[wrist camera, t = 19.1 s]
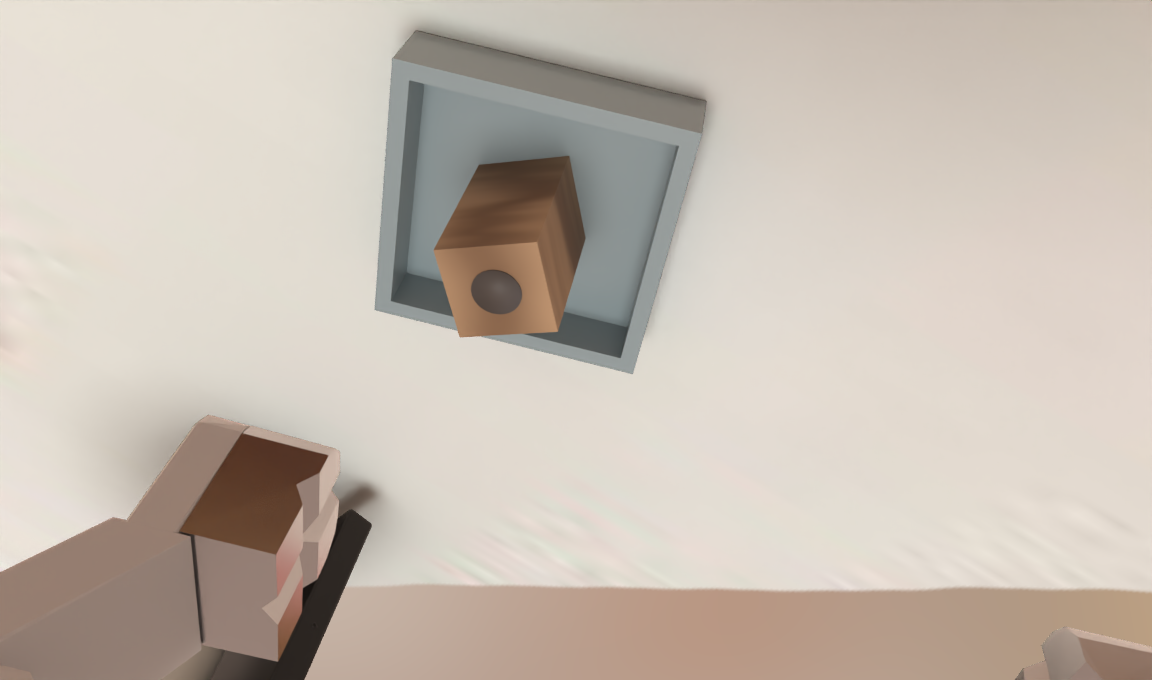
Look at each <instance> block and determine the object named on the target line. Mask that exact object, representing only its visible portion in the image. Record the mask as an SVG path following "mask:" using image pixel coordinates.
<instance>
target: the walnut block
mask: <svg viewBox="0 0 1152 680" xmlns="http://www.w3.org/2000/svg"><path fill="white" fill-rule="evenodd" d="M585 239H586V237H585V232H584V227H583V222H582V217H581V212H580V207H579V202H578V197H577V192H576V187H575V182H574V177H573V172H572V167H571V162H570V157H569V156H562V157H552V158H542V159H532V160H522V161H512V162H502V163H492V164H482V165H478V167H477V169H476V171H475V173H474V175H473V177H472V179H471V180H470V182H469V184H468V186H467V188H466V190H465V192H464V194H463V195H462V197H461V199H460V201H459V203H458V205H457V207H456V209H455V211H454V212H453V214H452V216H451V218H450V220H449V222H448V224H447V226H446V227H445V229H444V231H443V233H442V235H441V237H440V239H439V241H438V242H437V244H436V246H435V248H434V250H433V251H434V254H435V257H436V261H437V264H438V267H439V270H440V274H441V277H442V280H443V284H444V287H445V290H446V294H447V297H448V300H449V303H450V307H451V310H452V313H453V317H454V320H455V323H456V326H457V330H458V333H459V336H460V337H474V336H492V335H510V334H528V333H545V332H558V330H559V326H560V323H561V320H562V316H563V313H564V309H565V306H566V303H567V299H568V296H569V293H570V289H571V286H572V283H573V279H574V276H575V273H576V269H577V266H578V263H579V259H580V256H581V252H582V249H583V246H584V242H585Z"/></svg>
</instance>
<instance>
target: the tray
mask: <svg viewBox="0 0 1152 680" xmlns="http://www.w3.org/2000/svg"><path fill="white" fill-rule="evenodd" d="M705 108H706V101H703V100H699V99H695V98H691V97H687V96H683V95H679V94H674V93H670V92H666V91H662V90H658V89H654V88H650V87H646V86H642V85H637V84H633V83H629V82H625V81H621V80H617V79H613V78H609V77H605V76H600V75H596V74H592V73H588V72H584V71H580V70H576V69H572V68H568V67H564V66H559V65H555V64H551V63H547V62H543V61H539V60H535V59H531V58H527V57H522V56H518V55H514V54H510V53H506V52H502V51H498V50H494V49H490V48H485V47H481V46H477V45H473V44H469V43H465V42H461V41H457V40H453V39H448V38H444V37H440V36H436V35H432V34H428V33H424V32H420V31H415V32H414V34H413V35H412V36H411V37H410V38H409V39H408V41H407V42H406V43H405V44H404V45H403V47H402V48H401V49H400V50H399V51H398V52H397V54H396V55H395V56H394V57H393V58H392V72H391V86H390V100H389V114H388V128H387V142H386V157H385V171H384V185H383V199H382V213H381V227H380V241H379V255H378V270H377V284H376V298H375V310H377V311H381V312H385V313H389V314H393V315H397V316H401V317H405V318H409V319H413V320H417V321H421V322H425V323H429V324H433V325H437V326H441V327H445V328H449V329H453V330H457V326H456V323H455V320H454V317H453V313H452V310H451V307H450V303H449V300H448V297H447V294H446V290H445V287H444V284H443V280H442V277H441V274H440V270H439V267H438V264H437V261H436V257H435V254H434V251H433V250H434V248H435V246H436V244H437V242H438V241H439V239H440V237H441V235H442V233H443V231H444V229H445V227H446V226H447V224H448V222H449V220H450V218H451V216H452V214H453V212H454V211H455V209H456V207H457V205H458V203H459V201H460V199H461V197H462V195H463V194H464V192H465V190H466V188H467V186H468V184H469V182H470V180H471V179H472V177H473V175H474V173H475V171H476V169H477V167H478V165H482V164H492V163H502V162H512V161H522V160H532V159H542V158H552V157H562V156H569V157H570V162H571V167H572V172H573V177H574V182H575V187H576V192H577V197H578V202H579V207H580V212H581V217H582V222H583V227H584V232H585V237H586V239H585V242H584V246H583V249H582V252H581V256H580V259H579V263H578V266H577V269H576V273H575V276H574V279H573V283H572V286H571V289H570V293H569V296H568V299H567V303H566V306H565V309H564V313H563V316H562V320H561V323H560V326H559V330H558V332H545V333H528V334H510V335H492V336H481V337H485V338H489V339H493V340H498V341H502V342H506V343H510V344H514V345H518V346H522V347H526V348H530V349H534V350H538V351H542V352H546V353H550V354H554V355H558V356H562V357H566V358H570V359H574V360H578V361H582V362H586V363H590V364H594V365H598V366H602V367H606V368H610V369H614V370H618V371H622V372H626V373H630V374H633V371H634V368H635V364H636V361H637V357H638V354H639V351H640V347H641V344H642V340H643V337H644V333H645V330H646V326H647V323H648V319H649V316H650V312H651V309H652V306H653V302H654V299H655V295H656V292H657V288H658V285H659V281H660V278H661V274H662V271H663V267H664V264H665V261H666V257H667V254H668V250H669V247H670V243H671V240H672V236H673V233H674V229H675V226H676V222H677V219H678V216H679V212H680V209H681V205H682V202H683V198H684V195H685V191H686V188H687V184H688V181H689V177H690V174H691V171H692V167H693V164H694V160H695V157H696V153H697V150H698V146H699V143H700V139H701V136H702V131H703V123H704V116H705ZM457 331H458V330H457Z"/></svg>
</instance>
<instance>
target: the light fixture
mask: <svg viewBox="0 0 1152 680" xmlns="http://www.w3.org/2000/svg"><path fill="white" fill-rule="evenodd" d="M371 527H372V524H371V523H370V522H369V521H367V520H366V519H364V518H363V517H362V516H360V515H359V514H358V513H356V512H355V511H354V510H349V511H347V512H346V513H345V514H343V515H342V516H341V517H339V518H338V519H337V524H336V529H335V534H334V537H333V540H332V543H331V547H330V550H329V553H328V556H327V559H326V561H325V563H324V566H323V568H322V570H321V572H320V574H319V577H318V579H317V580H315V581H314V582H312V583H310V584H309V585H307V586H305V587H304V588H303V591H302V613H301V615H300V617H299V619H298V621H297V623H296V625H295V628H294V630H293V632H292V634H291V636H290V638H289V640H288V642H287V644H286V646H285V649H284V651H283V653H282V655H281V657H280V659H279V661H278V662H277V661H272V660H268V659H263V658H259V657H254V656H250V655H245V654H241V653H236V652H231V651H227V650H222V649H218V648H213V647H209V646H204V645H201V651H199V652H198V653H196V654H195V655H194V656H192V657H191V658H190V659H188V660H187V661H186V662H184V663H183V664H182V665H180V666H179V667H177V668H176V669H175V670H173V671H172V672H171V673H169V674H168V675H167V676H165V677H164V678H163V679H161V680H304V679H305V677H306V675H307V672H308V670H309V668H310V666H311V663H312V661H313V659H314V656H315V654H316V652H317V650H318V647H319V645H320V643H321V640H322V638H323V636H324V634H325V631H326V629H327V627H328V625H329V622H330V620H331V618H332V616H333V613H334V611H335V609H336V606H337V604H338V602H339V600H340V597H341V595H342V593H343V590H344V588H345V586H346V584H347V581H348V579H349V577H350V575H351V572H352V570H353V568H354V565H355V563H356V561H357V559H358V556H359V554H360V552H361V549H362V547H363V545H364V543H365V540H366V538H367V536H368V534H369V531H370V529H371Z"/></svg>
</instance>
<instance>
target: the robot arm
mask: <svg viewBox="0 0 1152 680" xmlns="http://www.w3.org/2000/svg"><path fill="white" fill-rule="evenodd" d="M339 474H340V451H338V450H337V449H335V448H332V447H328V446H324V445H321V444H317V443H313V442H310V441H306V440H302V439H299V438H295V437H291V436H288V435H284V434H280V433H277V432H273V431H269V430H266V429H262V428H258V427H255V426H249V425H245V424H241V423H237V422H234V421H230V420H226V419H223V418H219V417H215V416H211V415H207V416H206V417H204V418H203V419H201V420H200V421H198V422H197V423H196V424H195V425H194V426H193V428H192V429H191V430H190V432H189V433H188V435H187V436H186V437H185V439H184V440H183V442H182V443H181V444H180V446H179V447H178V449H177V450H176V451H175V453H174V454H173V456H172V457H171V458H170V460H169V461H168V463H167V464H166V465H165V467H164V468H163V470H162V471H161V472H160V474H159V475H158V477H157V478H156V479H155V481H154V482H153V484H152V485H151V486H150V488H149V489H148V491H147V492H146V493H145V495H144V496H143V498H142V499H141V500H140V502H139V503H138V505H137V506H136V507H135V509H134V510H133V512H132V513H131V514H130V516H129V517H128V519H127V520H124V519H119V518H115V517H112V518H110V519H108V520H106V521H104V522H102V523H100V524H98V525H96V526H94V527H92V528H90V529H88V530H86V531H84V532H82V533H80V534H78V535H76V536H74V537H71V538H69V539H67V540H65V541H63V542H61V543H59V544H57V545H55V546H53V547H51V548H49V549H47V550H45V551H43V552H41V553H39V554H37V555H35V556H33V557H31V558H28V559H26V560H24V561H22V562H20V563H18V564H16V565H14V566H12V567H10V568H8V569H6V570H4V571H2V572H0V680H161V679H163V678H164V677H165V676H167V675H168V674H169V673H171V672H172V671H173V670H175V669H176V668H177V667H179V666H180V665H182V664H183V663H184V662H186V661H187V660H188V659H190V658H191V657H192V656H194V655H195V654H196V653H198V652H199V651H201V645H204V646H209V647H213V648H218V649H222V650H227V651H231V652H236V653H241V654H245V655H250V656H254V657H259V658H263V659H268V660H272V661H277V662H278V661H279V659H280V657H281V655H282V653H283V651H284V649H285V646H286V644H287V642H288V640H289V638H290V636H291V634H292V632H293V630H294V628H295V625H296V623H297V621H298V619H299V617H300V615H301V613H302V591H303V588H304V587H305V586H307V585H309V584H310V583H312V582H314V581H315V580H317V579H318V577H319V574H320V572H321V570H322V568H323V566H324V563H325V561H326V559H327V556H328V553H329V550H330V547H331V543H332V540H333V537H334V534H335V529H336V524H337V518H338V507H339V499H338V498H337V496H336V495H335V494H334V492H333V491H332V488H333V486H334V484H335V482H336V480H337V478H338V476H339ZM1042 649H1043V653H1044V657H1045V661H1042V662H1039V663H1037V664H1034V665H1031V666H1029V667H1026V668H1023V669H1022V671H1021V672H1020V673H1019V675H1018V676H1017V678H1016V679H1015V680H1152V648H1151V647H1149V646H1145V645H1141V644H1136V643H1132V642H1128V641H1124V640H1119V639H1115V638H1111V637H1107V636H1103V635H1098V634H1094V633H1090V632H1085V631H1081V630H1077V629H1073V628H1068V627H1063V628H1061V629H1058V630H1056V631H1054V632H1052V633H1051V635H1050V636H1049V637H1048V638H1047V639H1046V641H1045V642H1044V643H1043V644H1042Z"/></svg>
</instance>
